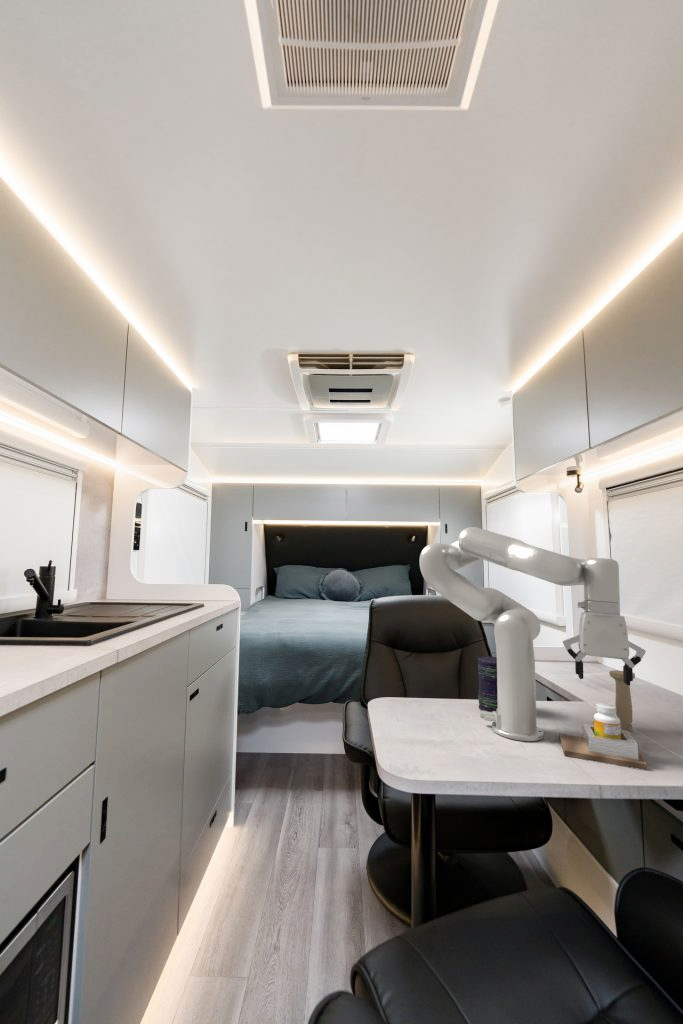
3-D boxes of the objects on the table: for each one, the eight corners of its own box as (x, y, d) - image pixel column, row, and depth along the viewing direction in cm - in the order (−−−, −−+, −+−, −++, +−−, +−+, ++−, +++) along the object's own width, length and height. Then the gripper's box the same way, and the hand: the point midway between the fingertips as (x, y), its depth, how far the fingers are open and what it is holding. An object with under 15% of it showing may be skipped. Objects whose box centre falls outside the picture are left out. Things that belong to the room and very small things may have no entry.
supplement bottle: (592, 742, 103) (590, 700, 105) (617, 746, 102) (615, 703, 103) (598, 751, 98) (596, 707, 100) (625, 755, 97) (622, 710, 98)
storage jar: (509, 717, 124) (508, 664, 126) (475, 711, 129) (474, 659, 131) (514, 708, 132) (513, 658, 134) (481, 702, 137) (481, 655, 139)
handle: (642, 731, 116) (638, 674, 119) (623, 732, 115) (620, 674, 117) (626, 725, 121) (623, 670, 123) (608, 726, 120) (605, 670, 122)
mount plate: (564, 756, 98) (564, 750, 98) (559, 738, 109) (558, 733, 109) (647, 770, 92) (647, 764, 92) (632, 749, 103) (632, 744, 103)
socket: (589, 752, 97) (588, 736, 98) (582, 738, 106) (582, 723, 107) (638, 761, 94) (637, 744, 94) (627, 745, 103) (626, 730, 103)
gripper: (564, 606, 104) (565, 679, 102) (648, 613, 98) (651, 690, 96) (560, 604, 111) (561, 672, 109) (639, 610, 105) (641, 682, 103)
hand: (603, 680), depth 102 cm, fingers open, 9 cm apart
